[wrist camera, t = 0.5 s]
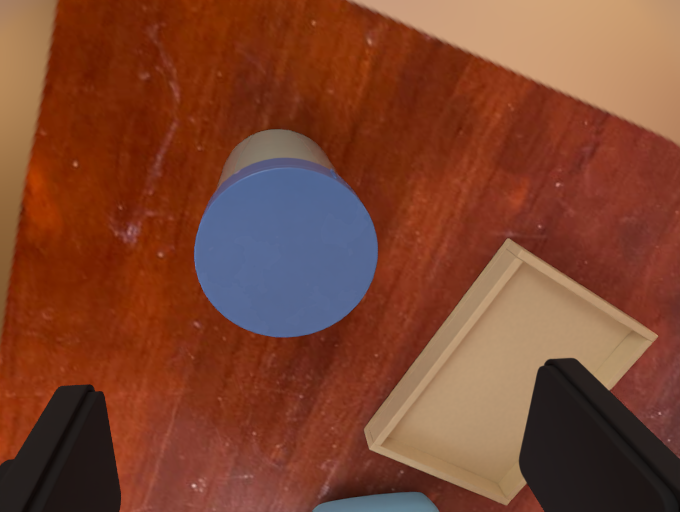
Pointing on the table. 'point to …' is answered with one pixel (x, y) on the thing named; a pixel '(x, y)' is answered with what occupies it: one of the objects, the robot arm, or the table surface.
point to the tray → (498, 371)
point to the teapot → (381, 503)
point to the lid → (285, 248)
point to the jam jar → (273, 151)
